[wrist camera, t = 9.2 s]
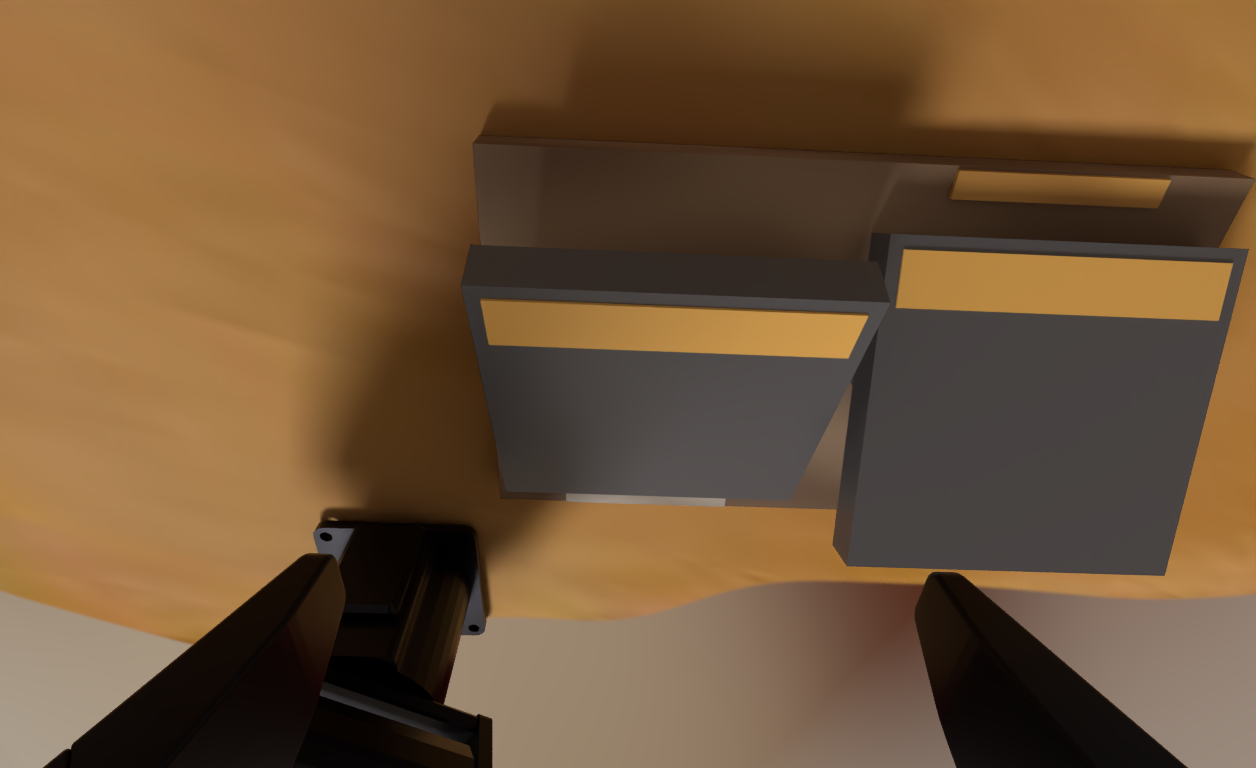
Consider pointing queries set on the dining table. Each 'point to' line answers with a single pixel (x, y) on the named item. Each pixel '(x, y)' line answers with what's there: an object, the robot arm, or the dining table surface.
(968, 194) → the switch unit
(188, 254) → the dining table surface
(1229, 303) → the rocker outer
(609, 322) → the block
